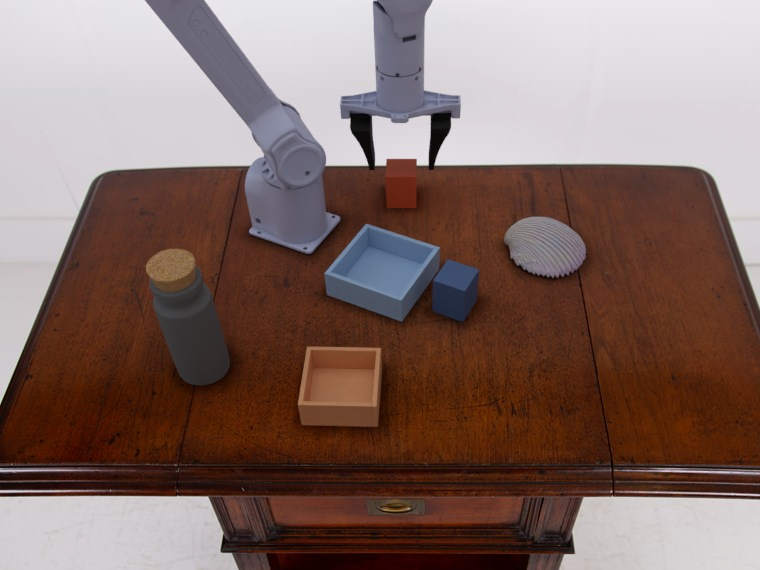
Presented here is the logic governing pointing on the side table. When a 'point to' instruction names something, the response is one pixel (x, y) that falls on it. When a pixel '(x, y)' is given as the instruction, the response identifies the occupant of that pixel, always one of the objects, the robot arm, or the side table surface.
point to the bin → (382, 272)
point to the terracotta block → (401, 183)
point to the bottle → (187, 317)
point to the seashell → (545, 246)
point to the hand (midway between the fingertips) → (401, 165)
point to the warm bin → (341, 386)
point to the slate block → (455, 290)
